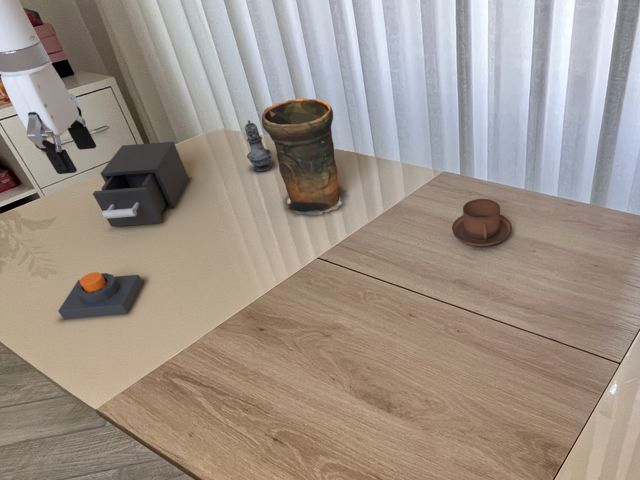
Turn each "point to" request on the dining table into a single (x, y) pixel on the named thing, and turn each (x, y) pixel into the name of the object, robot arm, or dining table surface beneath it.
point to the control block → (102, 298)
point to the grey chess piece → (257, 150)
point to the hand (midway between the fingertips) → (78, 160)
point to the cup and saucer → (481, 224)
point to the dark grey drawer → (131, 199)
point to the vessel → (305, 153)
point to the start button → (92, 281)
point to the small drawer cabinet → (152, 167)
